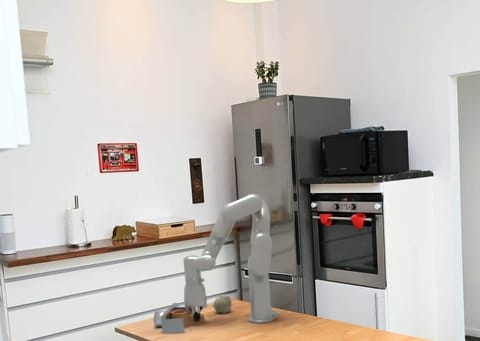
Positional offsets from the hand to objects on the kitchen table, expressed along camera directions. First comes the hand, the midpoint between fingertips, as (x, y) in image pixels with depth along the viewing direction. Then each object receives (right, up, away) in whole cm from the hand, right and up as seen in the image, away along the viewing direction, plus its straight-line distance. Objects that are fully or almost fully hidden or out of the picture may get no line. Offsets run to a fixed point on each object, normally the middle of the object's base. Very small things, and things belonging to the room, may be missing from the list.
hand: (197, 320), depth 227 cm
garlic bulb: (+11, -2, +20) cm, 23 cm away
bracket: (-5, -3, +3) cm, 6 cm away
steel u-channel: (-13, -3, +1) cm, 13 cm away
